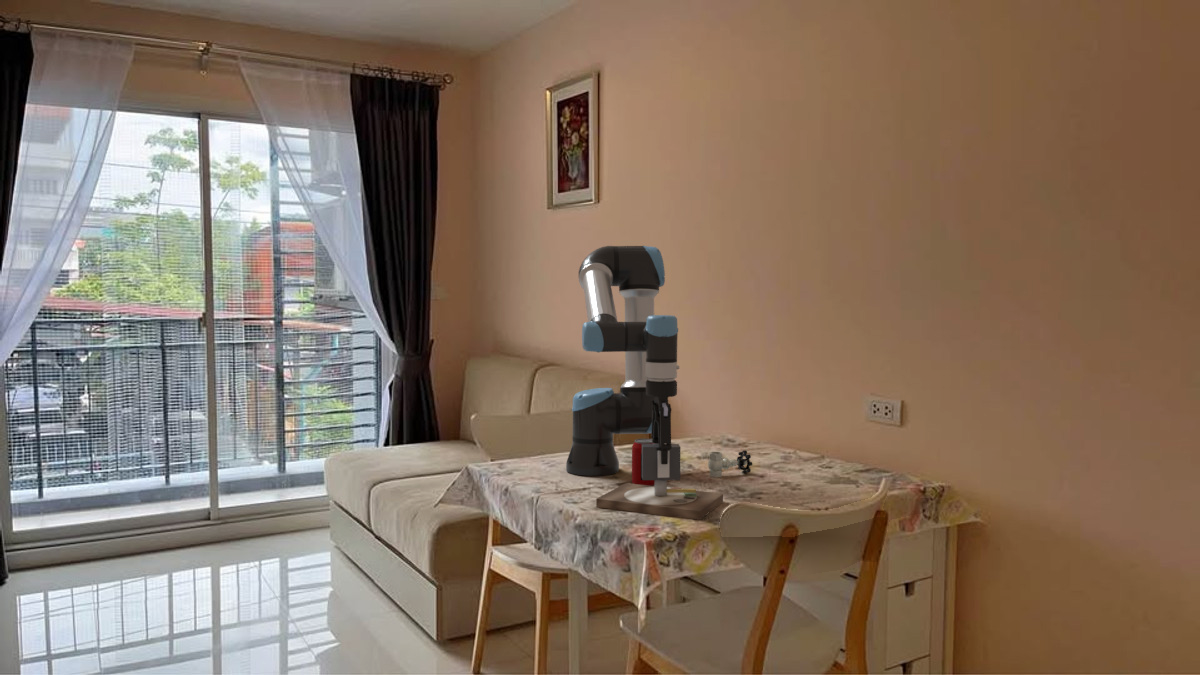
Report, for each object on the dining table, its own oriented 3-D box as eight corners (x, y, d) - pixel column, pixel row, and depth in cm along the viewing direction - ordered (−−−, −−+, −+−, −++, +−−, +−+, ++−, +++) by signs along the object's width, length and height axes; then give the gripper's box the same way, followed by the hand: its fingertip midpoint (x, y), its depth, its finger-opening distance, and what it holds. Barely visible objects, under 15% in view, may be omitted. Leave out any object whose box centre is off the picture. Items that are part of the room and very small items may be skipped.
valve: (715, 479, 235) (752, 475, 239) (715, 455, 234) (752, 452, 239) (703, 474, 241) (739, 470, 246) (703, 451, 240) (739, 448, 245)
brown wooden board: (596, 506, 205) (596, 496, 204) (625, 490, 221) (625, 481, 221) (700, 519, 194) (700, 508, 194) (723, 501, 210) (723, 491, 210)
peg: (642, 496, 205) (642, 447, 204) (641, 492, 209) (641, 443, 208) (696, 496, 205) (697, 447, 205) (694, 492, 209) (695, 443, 209)
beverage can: (649, 489, 223) (649, 443, 222) (627, 485, 226) (627, 441, 225) (661, 484, 228) (662, 439, 228) (639, 481, 232) (639, 437, 231)
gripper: (684, 384, 196) (683, 482, 197) (669, 374, 216) (668, 464, 217) (652, 384, 195) (651, 483, 196) (640, 375, 215) (639, 464, 217)
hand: (660, 473), depth 207 cm, fingers open, 7 cm apart
